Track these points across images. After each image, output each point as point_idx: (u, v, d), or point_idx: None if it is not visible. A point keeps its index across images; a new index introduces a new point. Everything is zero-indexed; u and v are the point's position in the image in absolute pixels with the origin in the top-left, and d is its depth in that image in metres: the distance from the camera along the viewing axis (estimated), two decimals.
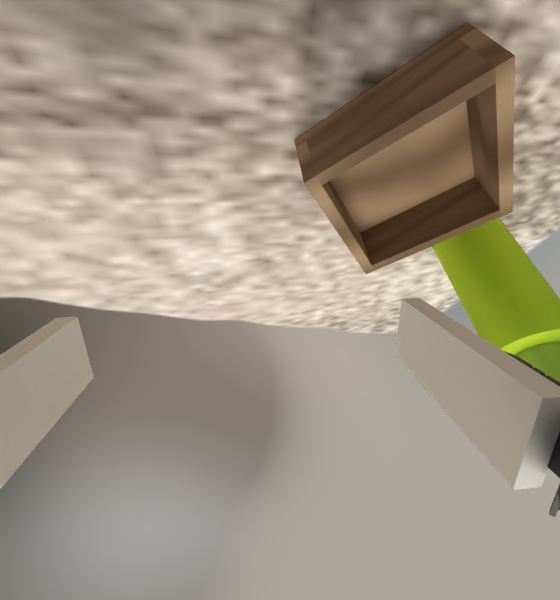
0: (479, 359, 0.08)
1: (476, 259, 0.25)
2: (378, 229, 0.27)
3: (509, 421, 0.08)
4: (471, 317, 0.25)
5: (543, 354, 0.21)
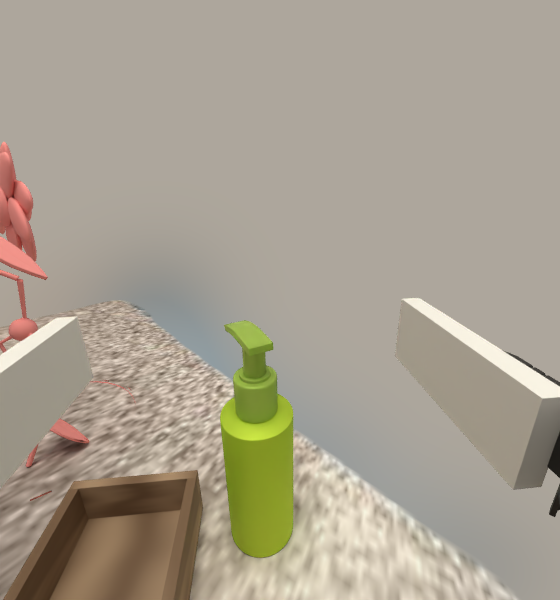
0: (479, 359, 0.08)
1: (227, 489, 0.26)
2: None
3: (509, 421, 0.08)
4: (250, 476, 0.23)
5: (235, 404, 0.24)
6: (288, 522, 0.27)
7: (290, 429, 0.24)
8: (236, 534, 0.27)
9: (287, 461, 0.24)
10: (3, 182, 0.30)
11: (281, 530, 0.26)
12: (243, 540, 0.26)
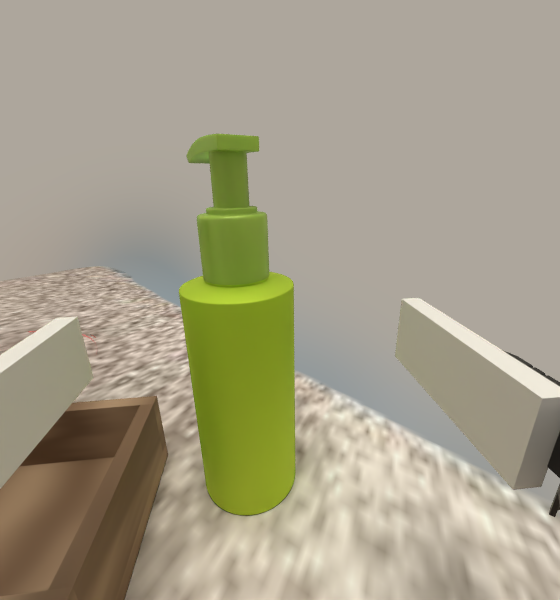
0: (479, 359, 0.08)
1: None
2: None
3: (509, 421, 0.08)
4: (226, 372, 0.14)
5: None
6: (288, 463, 0.18)
7: (289, 302, 0.15)
8: (210, 481, 0.18)
9: (285, 356, 0.16)
10: None
11: (277, 473, 0.17)
12: (221, 488, 0.17)
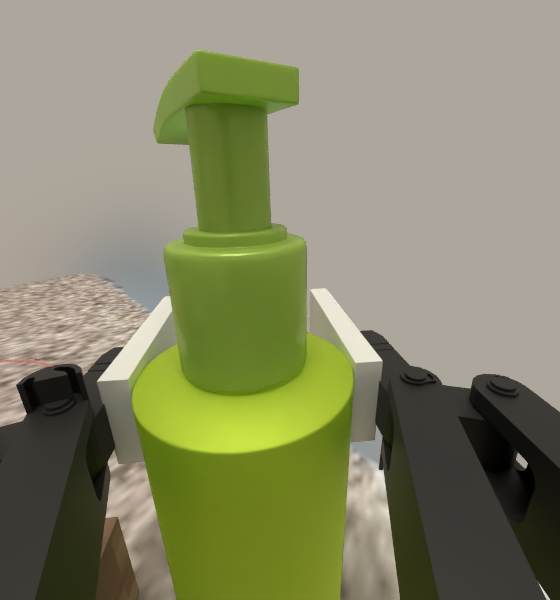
0: (336, 336, 0.10)
1: None
2: None
3: None
4: (225, 569, 0.07)
5: None
6: None
7: (350, 414, 0.08)
8: None
9: (338, 512, 0.08)
10: None
11: None
12: None
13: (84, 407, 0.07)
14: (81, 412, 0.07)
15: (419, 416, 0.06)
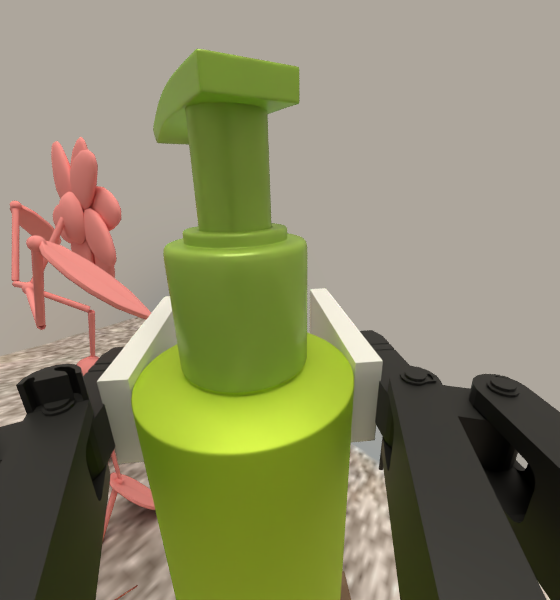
0: (336, 336, 0.10)
1: None
2: None
3: None
4: (225, 571, 0.07)
5: None
6: None
7: (350, 415, 0.08)
8: None
9: (339, 513, 0.08)
10: (81, 189, 0.23)
11: None
12: None
13: (84, 407, 0.07)
14: (81, 412, 0.07)
15: (419, 416, 0.06)
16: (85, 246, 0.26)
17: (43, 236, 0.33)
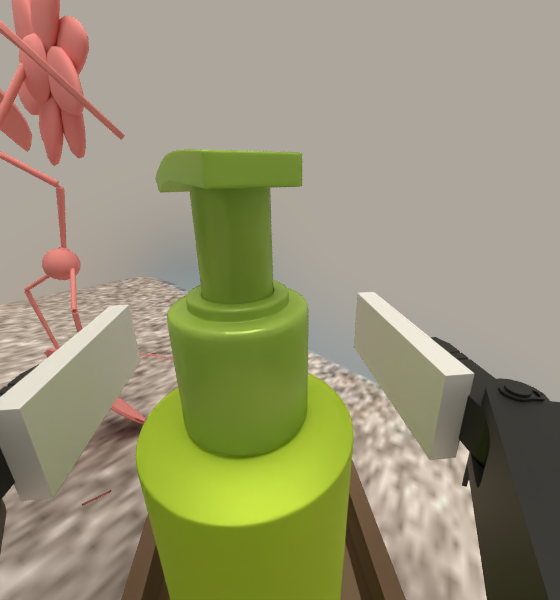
0: (407, 344, 0.09)
1: None
2: None
3: (426, 398, 0.08)
4: None
5: None
6: None
7: (349, 470, 0.08)
8: None
9: (337, 560, 0.08)
10: (42, 18, 0.20)
11: None
12: None
13: None
14: None
15: (524, 434, 0.06)
16: (51, 103, 0.22)
17: (10, 128, 0.30)
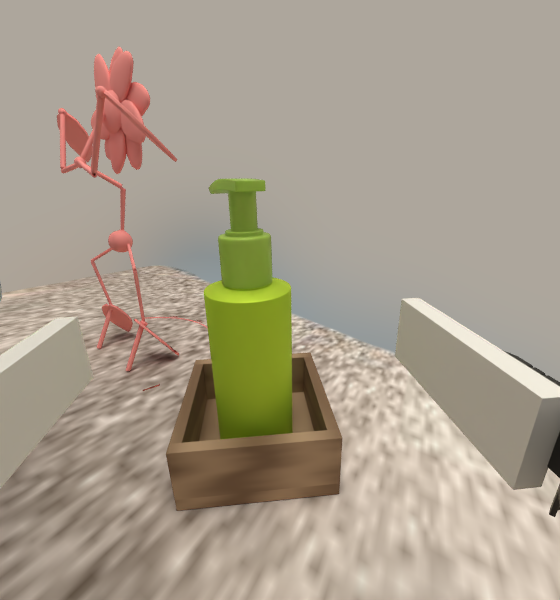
0: (479, 359, 0.08)
1: (214, 387, 0.22)
2: None
3: (509, 421, 0.08)
4: (240, 354, 0.19)
5: (221, 273, 0.20)
6: (286, 428, 0.23)
7: (287, 302, 0.20)
8: None
9: (284, 343, 0.20)
10: (120, 83, 0.32)
11: None
12: None
13: None
14: None
15: None
16: (120, 134, 0.34)
17: (79, 146, 0.42)
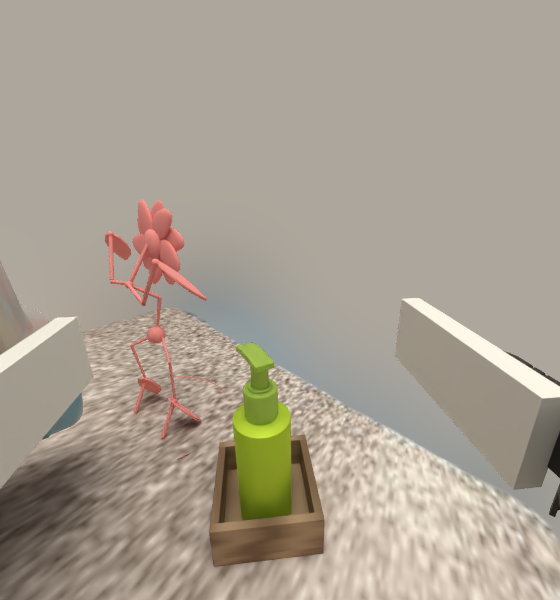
0: (479, 359, 0.08)
1: (238, 478, 0.33)
2: None
3: (509, 421, 0.08)
4: (257, 466, 0.30)
5: (244, 409, 0.31)
6: (287, 505, 0.33)
7: (288, 429, 0.30)
8: (245, 515, 0.33)
9: (286, 455, 0.31)
10: (161, 229, 0.42)
11: (281, 512, 0.33)
12: None
13: None
14: None
15: None
16: (158, 260, 0.44)
17: (120, 251, 0.52)
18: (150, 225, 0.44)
